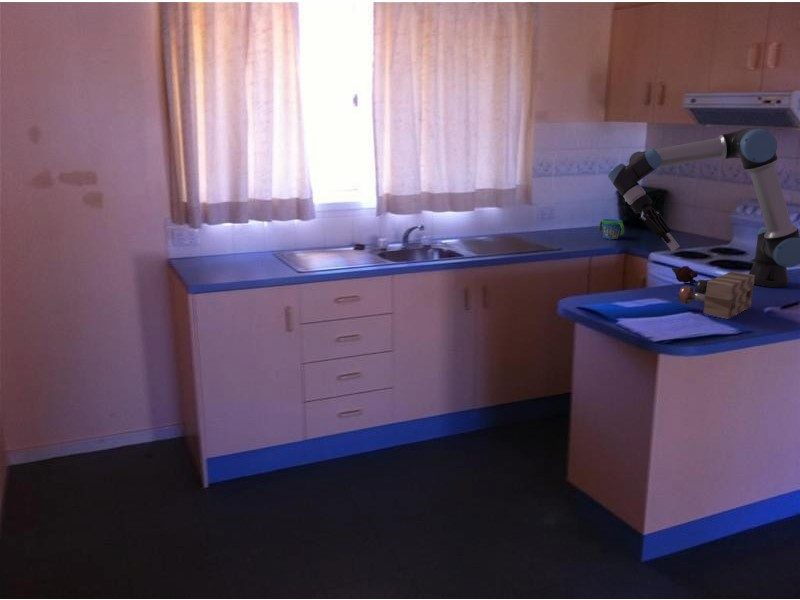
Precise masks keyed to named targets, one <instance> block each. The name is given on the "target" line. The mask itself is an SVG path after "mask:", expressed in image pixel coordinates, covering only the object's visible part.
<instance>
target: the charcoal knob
mask: <svg viewBox="0 0 800 600" xmlns="http://www.w3.org/2000/svg"><path fill="white" fill-rule="evenodd" d="M707 281H708V280H704V279H699V280H697V284H696V286H695V290H694V292H695V293H700V294H706V288H707Z"/></svg>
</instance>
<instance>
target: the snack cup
mask: <svg viewBox="0 0 800 600" xmlns="http://www.w3.org/2000/svg"><path fill="white" fill-rule="evenodd" d="M598 230H599V231H600V232H601V231H602V234H603V235H602V236H603V239H604V240H609V241H611V240H612V241H615V240H614V239H616V240H618V239H619V236H623V235H624V234H625V226H624V223H623V220H621V219H617V218H604V219H602V220H601V221H600V223H599V225H598Z"/></svg>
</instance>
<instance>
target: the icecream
mask: <svg viewBox="0 0 800 600" xmlns="http://www.w3.org/2000/svg"><path fill="white" fill-rule="evenodd" d="M671 271H672V272H673V273H674V274H675V277H676V280H677V281H678V282H680V283H685V284H687V283H690V284H692V283H697V282H698V280H696V279H694V278H698V273H697V271H694V270H693V269H692V268H691V267H689V266H688V265H686V266H685V265H683V266H682V267H674V268H673V267H672V268H671Z"/></svg>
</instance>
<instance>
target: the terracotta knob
mask: <svg viewBox="0 0 800 600" xmlns="http://www.w3.org/2000/svg"><path fill="white" fill-rule="evenodd" d="M705 296H706V294H700V293H695V291H694V289H693V287H692V286H686V285H682V286H681V287H680V290H679V293H678V302H679V303H681V304H687V305H689V304H690V303H691V302H692V301H695V302H701V303H704V304H705Z"/></svg>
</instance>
